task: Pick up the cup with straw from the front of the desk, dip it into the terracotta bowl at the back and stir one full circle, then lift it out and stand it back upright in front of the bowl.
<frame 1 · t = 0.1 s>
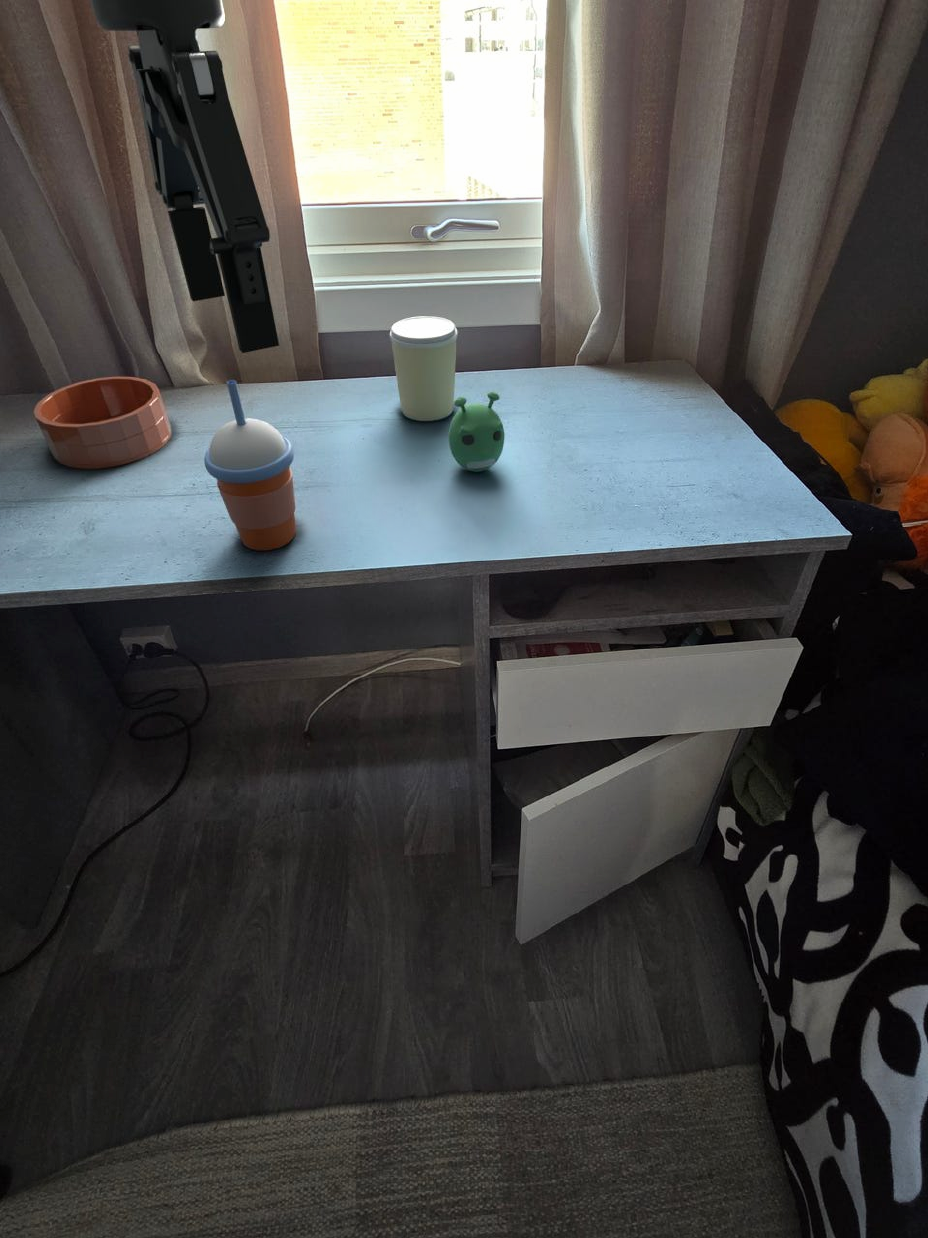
hand: (231, 321, 54), 27 cm above the table, tool pointing down, fingers open, 13 cm apart
alien toy: (477, 470, 89), on the table
bowl: (113, 440, 96), on the table
cup with straw: (269, 536, 79), on the table
coffee cup: (427, 410, 103), on the table
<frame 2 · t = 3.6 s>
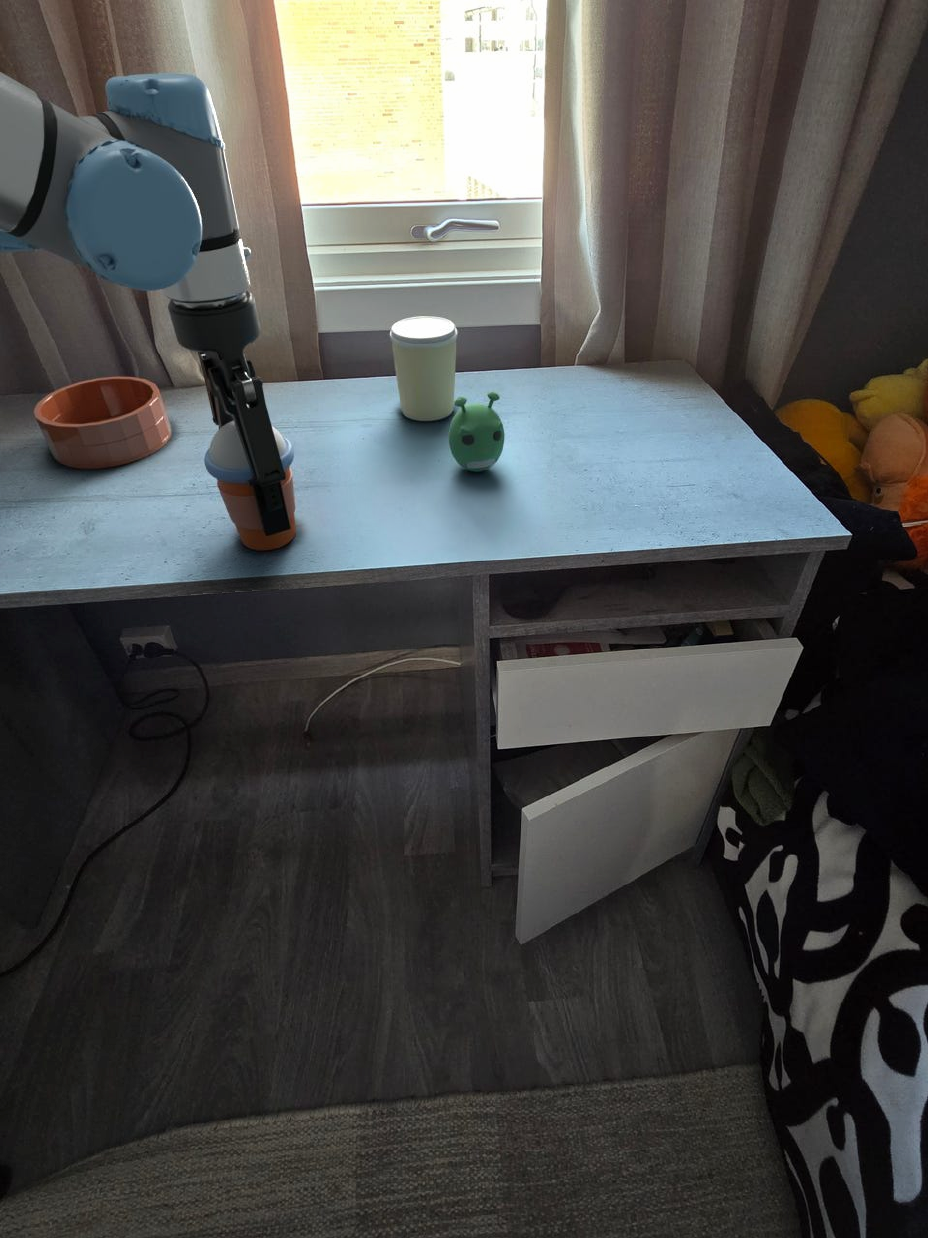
hand: (262, 509, 76), 3 cm above the table, tool pointing down, fingers closed on cup with straw, 9 cm apart
cup with straw: (269, 536, 79), on the table, touching gripper
everything else where it was.
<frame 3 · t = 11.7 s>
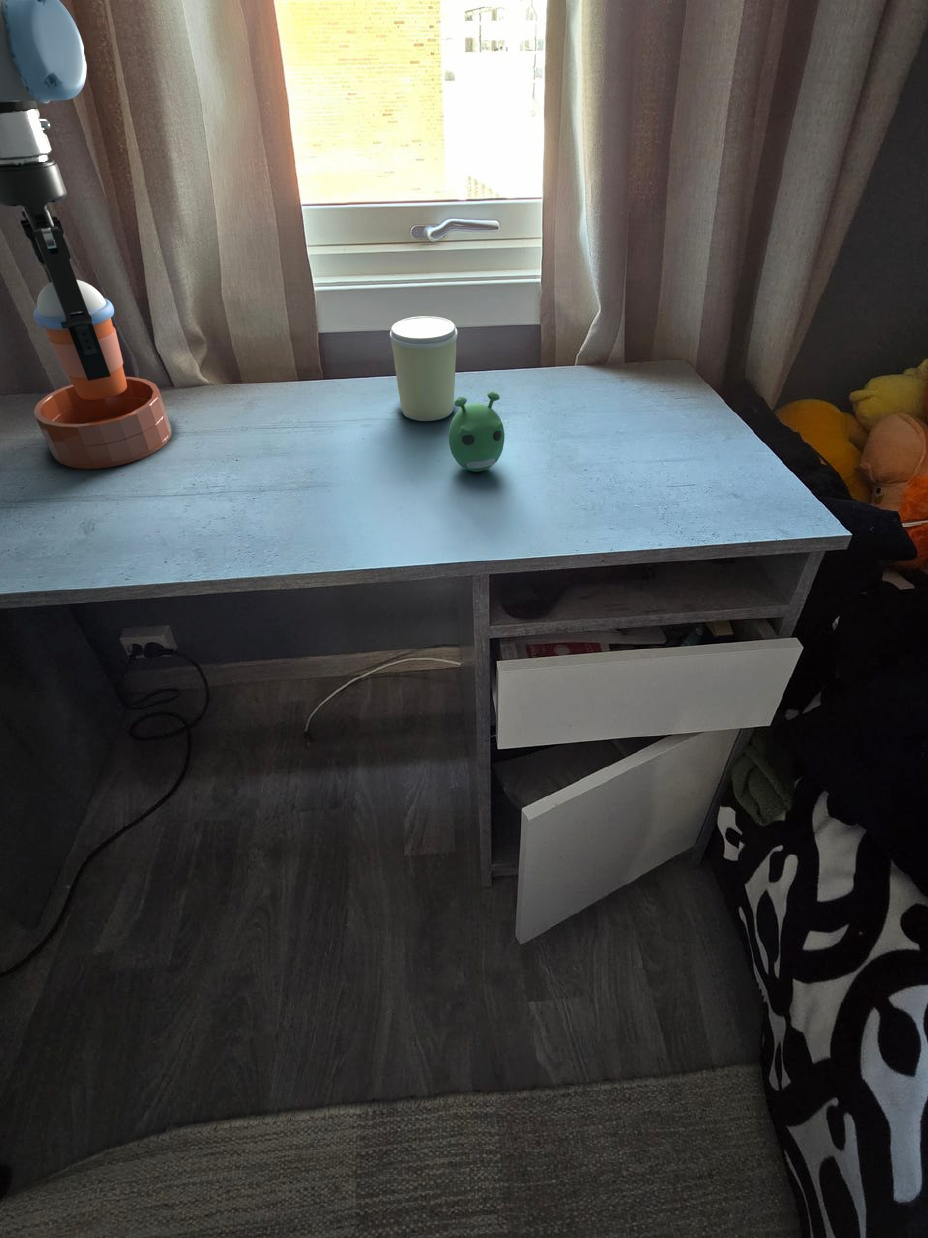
hand: (92, 364, 90), 11 cm above the table, tool pointing down, fingers closed on cup with straw, 9 cm apart
cup with straw: (103, 392, 92), point 7 cm above the table, touching gripper
everything else where it was.
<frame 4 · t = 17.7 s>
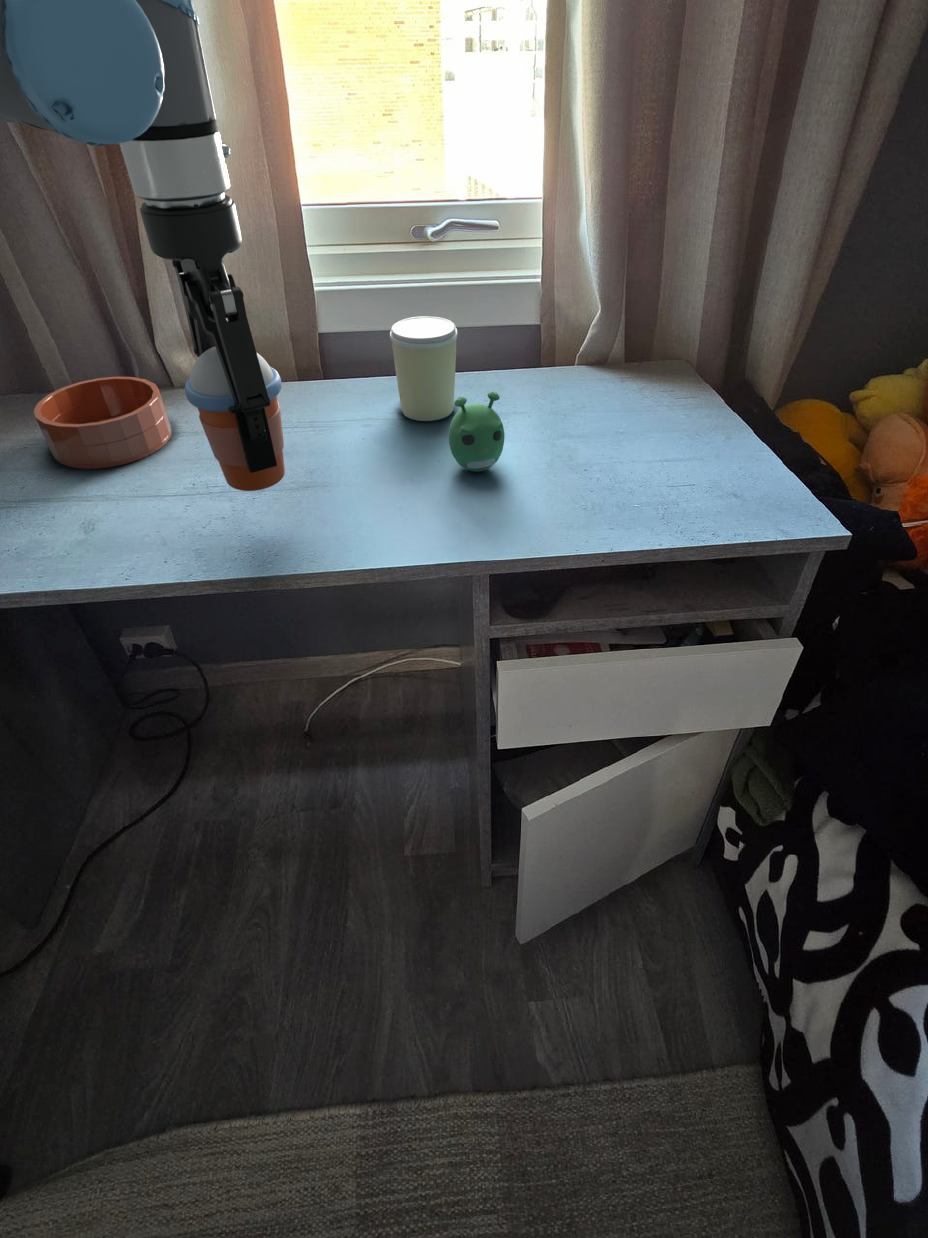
hand: (247, 447, 71), 11 cm above the table, tool pointing down, fingers closed on cup with straw, 9 cm apart
cup with straw: (256, 478, 74), point 7 cm above the table, touching gripper
everything else where it was.
when the fingers open (3 cm above the table, at t = 20.2 s): cup with straw stays where it is, on the table.
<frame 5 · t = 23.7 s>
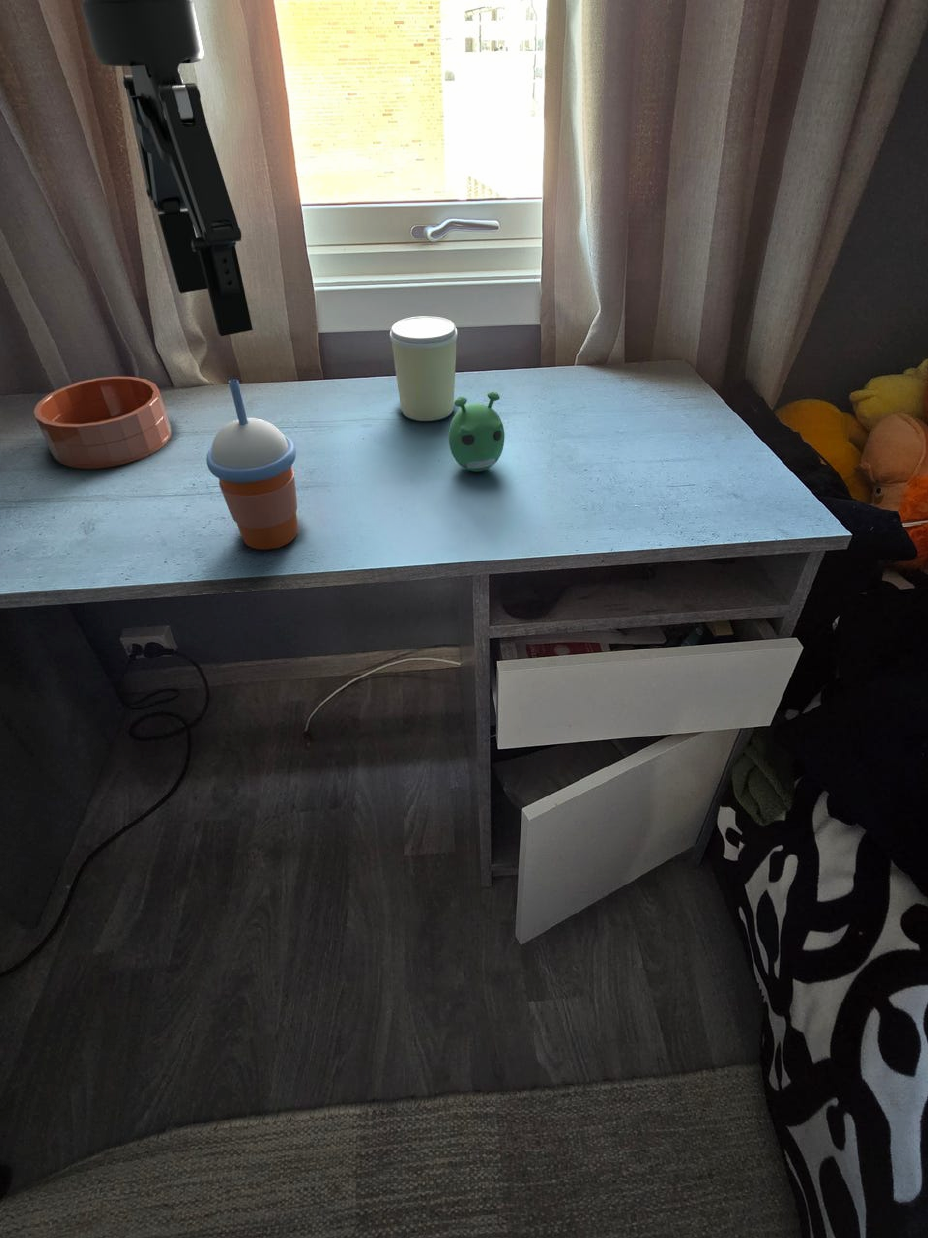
hand: (213, 309, 62), 25 cm above the table, tool pointing down, fingers open, 13 cm apart
cup with straw: (271, 536, 79), on the table
everything else where it was.
at the end: cup with straw 0.2 cm from the target spot on the table beside the bowl, on the table; cup with straw tilted 0°; the gripper is holding nothing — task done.
